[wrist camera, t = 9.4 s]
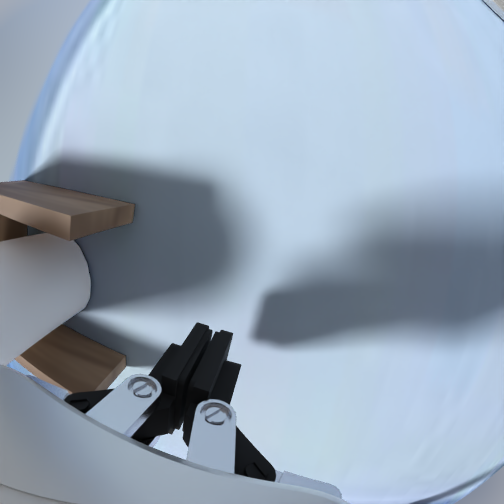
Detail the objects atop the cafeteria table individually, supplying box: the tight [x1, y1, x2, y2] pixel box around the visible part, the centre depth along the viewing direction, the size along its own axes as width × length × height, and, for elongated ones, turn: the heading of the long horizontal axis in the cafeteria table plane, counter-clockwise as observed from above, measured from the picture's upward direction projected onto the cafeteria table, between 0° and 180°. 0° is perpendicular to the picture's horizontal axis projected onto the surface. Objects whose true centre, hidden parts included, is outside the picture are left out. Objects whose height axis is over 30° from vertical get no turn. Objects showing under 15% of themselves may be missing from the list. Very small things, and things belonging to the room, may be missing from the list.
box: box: [0, 180, 135, 394], centre depth 13 cm, size 11×11×5 cm
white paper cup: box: [0, 233, 91, 366], centre depth 10 cm, size 7×7×10 cm
